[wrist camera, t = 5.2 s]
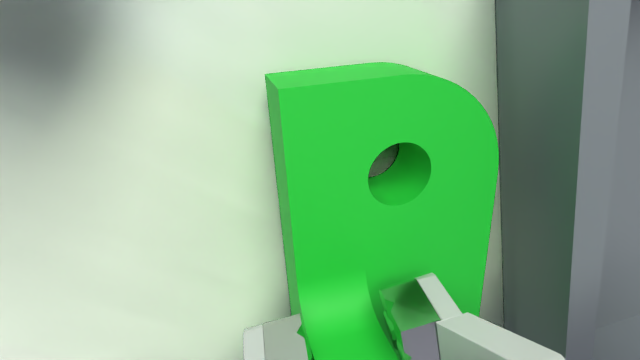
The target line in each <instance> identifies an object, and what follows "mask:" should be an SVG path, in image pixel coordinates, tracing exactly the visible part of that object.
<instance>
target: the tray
mask: <svg viewBox="0 0 640 360" xmlns="http://www.w3.org/2000/svg"><path fill="white" fill-rule="evenodd" d="M496 34H497V71H498V107H499V144H500V180H501V217H502V253H503V289H504V326H505V329H506V330H508V331H511V332H513V333H515V334H517V335H519V336H522V337H524V338H526V339H528V340H530V341H533V342H535V343H537V344H539V345H541V346H544V347H546V348H548V349H550V350H553V351H555V352H557V353H559V354H561V355H562V356H563V357H564V358H565V360H640V0H496Z"/></svg>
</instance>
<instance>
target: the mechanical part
mask: <svg viewBox="0 0 640 360" xmlns="http://www.w3.org/2000/svg"><path fill="white" fill-rule="evenodd" d="M265 80H266V89H267V98H268V107H269V116H270V126H271V135H272V144H273V153H274V162H275V171H276V180H277V189H278V198H279V207H280V216H281V226H282V235H283V244H284V253H285V262H286V271H287V280H288V289H289V298H290V307H291V316H292V315H295V314H299V313H300V314H301V317H302V319H303V322H304V326H305V331H306V335H307V336H308V338H309V342H310V347H311V351H312V355H313V359H314V360H400V358H399V353H398V350H396V349H395V348H394V346H393V344H392V342H391V339H390V336H389V334H388V331H387V327H386V324H385V320H384V315H383V312H384V307H383V305H382V303H381V301H380V295H379V289H381V288H385V287H388V286H391V285H394V284H398V283H401V282H404V281H407V280H410V279H414V278H416V277H419V276H422V275H425V274H429V273H434V274H435V275H436V276H437V278H438V279H439V281H440V282H441V284H442V285H443V286H444V288H445V289H446V291H447V292H448V294H449V295H450V296H451V298H452V299H453V301H454V302H455V304H456V305H457V306H458V308H459V309H460V311H461V312H462V314H464V313H467V312H469V313H471V314H473V315H475V316H477V317H479V311H480V304H481V296H482V289H483V281H484V274H485V266H486V258H487V251H488V243H489V236H490V228H491V221H492V213H493V205H494V198H495V190H496V183H497V175H498V165H499V150H498V142H497V137H496V133H495V130H494V127H493V124H492V122H491V120H490V118H489V116H488V114H487V112H486V111H485V109H484V108H483V106H482V105H481V104H480V103H479V102H478V100H477V99H476V98H475V97H474V96H473V95H471V94H470V93H469V92H468V91H467V90H465V89H464V88H462V87H460V86H459V85H457V84H455V83H453V82H451V81H449V80H446V79H443V78H440V77H437V76H434V75H431V74H428V73H425V72H422V71H419V70H416V69H413V68H410V67H407V66H404V65H400V64H395V63H386V62H377V63H365V64H355V65H346V66H336V67H327V68H317V69H308V70H298V71H289V72H279V73H270V74H265ZM397 143H399V152H398V155H397V158H396V160H395V161H394V163H393V164H392V166H391V167H390V168H389V169H388V170H386V171H385V172H384V173H382V174H380V175H378V176H374V177H368V175H369V171H370V168H371V165H372V164H373V162H374V160H375V159H376V157H377V156H378V155H379V154H380V153H381V152H382V151H384V150H385V149H386V148H388V147H390V146H392V145H394V144H397Z"/></svg>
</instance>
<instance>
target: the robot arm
mask: <svg viewBox="0 0 640 360" xmlns="http://www.w3.org/2000/svg"><path fill="white" fill-rule="evenodd" d="M379 295H380V301H381V303H382V305H383V307H384V312H383V315H384V320H385V324H386V327H387V331H388V334H389V336H390V339H391V342H392V344H393V346H394V348H395V349H396V350H398V353H399V358H400V360H565V358H564V357H563V356H562V355H561V354H559V353H557V352H555V351H553V350H550V349H548V348H546V347H544V346H541V345H539V344H537V343H535V342H533V341H530V340H528V339H526V338H524V337H522V336H519V335H517V334H515V333H513V332H511V331H508V330H506V329H504V328H502V327H500V326H497V325H495V324H493V323H491V322H488V321H486V320H484V319H482V318H480V317H477V316H475V315H473V314H471V313H469V312H467V313H464V314H462V312H461V311H460V309H459V308H458V306H457V305H456V304H455V302H454V301H453V299H452V298H451V296H450V295H449V294H448V292H447V291H446V289H445V288H444V286H443V285H442V284H441V282H440V281H439V279H438V278H437V276H436V275H435V274H434V273H429V274H425V275H422V276H419V277H416V278H414V279H410V280H407V281H404V282H401V283H398V284H394V285H391V286H388V287H385V288H381V289H379ZM243 358H244V360H314V359H313V355H312V351H311V347H310V342H309V338H308V336H307V335H306V331H305V326H304V322H303V319H302V317H301V314H300V313H299V314H295V315H292V316H288V317H285V318H281V319H277V320H274V321H270V322H266V323H264V324H261V325H257V326H254V327H250V328H246V329H244V333H243Z"/></svg>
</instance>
